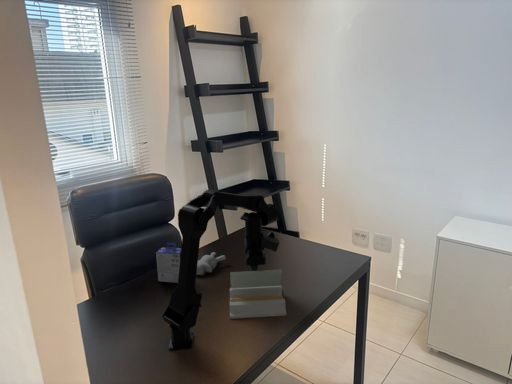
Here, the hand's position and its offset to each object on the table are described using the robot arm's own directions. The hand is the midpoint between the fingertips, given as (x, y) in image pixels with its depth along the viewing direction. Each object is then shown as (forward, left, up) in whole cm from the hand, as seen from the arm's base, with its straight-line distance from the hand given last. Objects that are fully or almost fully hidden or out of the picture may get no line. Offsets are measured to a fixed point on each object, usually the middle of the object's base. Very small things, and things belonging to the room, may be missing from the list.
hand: (254, 272), depth 129 cm
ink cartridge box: (+15, +31, -9) cm, 35 cm away
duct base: (-5, 0, -9) cm, 10 cm away
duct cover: (-4, 0, -1) cm, 4 cm away
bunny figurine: (+22, +18, -9) cm, 30 cm away
